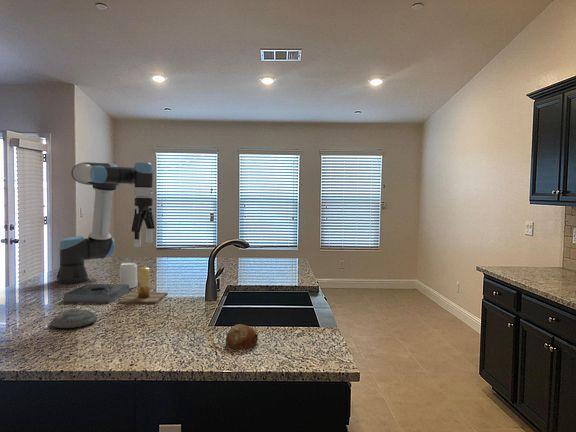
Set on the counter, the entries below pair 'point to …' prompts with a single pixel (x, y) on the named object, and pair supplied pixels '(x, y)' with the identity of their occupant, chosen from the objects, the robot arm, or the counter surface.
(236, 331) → the bread roll
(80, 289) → the bore block
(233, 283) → the counter surface
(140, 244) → the robot arm
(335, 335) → the counter surface
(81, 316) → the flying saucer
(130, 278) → the white cylinder
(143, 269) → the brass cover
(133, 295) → the walnut pad
